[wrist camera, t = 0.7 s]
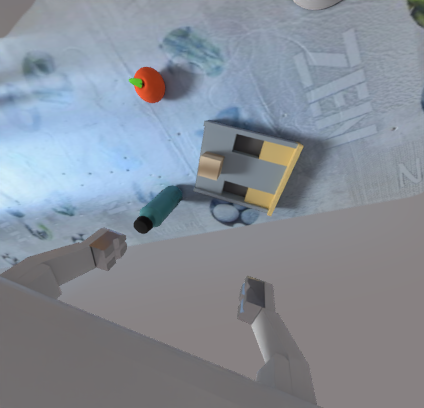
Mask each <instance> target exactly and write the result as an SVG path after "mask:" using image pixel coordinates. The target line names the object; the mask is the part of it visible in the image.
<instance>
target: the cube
mask: <svg viewBox="0 0 424 408" xmlns="http://www.w3.org/2000/svg"><path fill="white" fill-rule="evenodd" d="M224 157H225V156H222V155H218V154H214V153H211V152H207V151H206V152H205V153H204V154H202V155H201V157H200V163H199V169H198V175H199V176H202V177H206V178H209V179H213V180H216V181H217V179H218V177H219V176H220V174H221V170H222V166H223V161H224Z"/></svg>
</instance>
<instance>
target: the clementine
mask: <svg viewBox="0 0 424 408" xmlns="http://www.w3.org/2000/svg"><path fill="white" fill-rule="evenodd" d="M129 82H130V83H132V84H133V85H134V87H135V90H136V92H137V94H138V95H139V96H140V97H141V98H142V99H143V100H144V101H146V102H149V103H155V102H158V101H160V100H161V99H162V98H163V96H164V94H165V83H164V81H163V78H162V76H161V75H160V74H159V73H158V72H157V71H156V70H155V69H153V68H151V67H143V68H140V69H139V70H138V71H137V72H136V74H135V76H134V78H131V79H129Z"/></svg>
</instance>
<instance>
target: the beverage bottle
mask: <svg viewBox="0 0 424 408" xmlns="http://www.w3.org/2000/svg"><path fill="white" fill-rule="evenodd" d="M181 200H182V192H181V190H180V189H179V188H178V187H176V186H168V187H167V188H165V189H163V190H162V191H161V193H160V194H158V195H157V196H156V197H155V198H154V199H153V200H152V201H150V202H149V203H148V204H147V205H146V206H145V207H143V208H142V209H141V210H140V216H139V217H138V218H137V220H136V221H135V222H134V228H135V229H136V230H137V231H138V232H139V233H142V234H145V233H147V232H148V231H149V230H151V229H152V228H153V227H158V226H160V225H161V223H162V222H163V221H164V220H165V219H166V217H167V216H168V215H169V214H170V213H171V212H172V210H173V209H175V208H176V207H177V205H178V203H179V202H180V201H181Z"/></svg>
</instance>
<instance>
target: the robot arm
mask: <svg viewBox="0 0 424 408" xmlns="http://www.w3.org/2000/svg"><path fill="white" fill-rule="evenodd" d="M293 1H294V2H295V3H296V4H297V5H299V6H300V7H302V8H305V9H309V10H320V9H324V8H327V7H330V6H332V5H334V4H336V3H338V2H339V1H341V0H293ZM125 240H126V235H124V234H121V233H118V232H116V231H113V230H110V229H107V228H101V229H99V230H98V231H97V232H95V233H94V234H93V235H91V236H90V237H88V238H87V239H86V240H84V241H83V242H82V243H79V242H78V243H75V244H71V245H68V246H65V247H61V248H58V249H54V250H51V251H47V252H44V253H41V254H37V255H34V256H30V257H28V258H26V259H24V260H23V261H21V262H19V263H18V264H16V265H15V266H13V267H11V268H10V269H8V270H7V271H5V272H3V273H2V274H0V408H322V407H320V406H317V403H316V398H315V393H314V388H313V383H312V378H311V373H310V368H309V364H308V362H307V361H306V359H305V357H304V356H303V354H302V352H301V351H300V349H299V347H298V346H297V344H296V342H295V341H294V339H293V337H292V336H291V334H290V333H289V331H288V329H287V327H286V326H285V324H284V322H283V321H282V319H281V317H280V316H279V314H278V313H276V312H275V301H274V290H273V285H272V284H270V283H267V282H264V281H262V280H259V279H256V278H253V277H249V276H247V277H246V278H245V283H244V284H243V285H242V287H241V291H240V296H239V301H240V305H239V307H238V315H237V319H239V320H241V321H244V322H246V323H249V324H251V326H252V329H253V331H254V334H255V337H256V339H257V342H258V344H259V347H260V350H261V352H262V355H263V358H264V360H265V363H266V364H265V365H264V366H263V367H262V368H261V369H260V370H259V371H258V372H257V375H256V376H257V377H256V380H253V379H251V378H249V377H246V376H243V375H241V374H238V373H236V372H234V371H231V370H229V369H226V368H224V367H221V366H219V365H216V364H214V363H212V362H209V361H207V360H204V359H202V358H200V357H197V356H195V355H192V354H190V353H187V352H185V351H182V350H180V349H177V348H175V347H172V346H170V345H168V344H165V343H163V342H160V341H158V340H155V339H153V338H150V337H148V336H146V335H143V334H141V333H138V332H136V331H133V330H131V329H128V328H126V327H123V326H121V325H118V324H116V323H114V322H111V321H109V320H106V319H104V318H101V317H99V316H96V315H94V314H92V313H89V312H87V311H84V310H82V309H79V308H77V307H74V306H72V305H69V304H67V303H65V302H62V301H60V300H57V298H58V297H59V296H60V295H61V294H62V291H61V289H60V287H59V286H60V285H62V284H64V283H66V282H68V281H70V280H72V279H74V278H76V277H78V276H80V275H82V274H84V273H86V272H88V271H90V270H92V269H94V268H96V267H97V268H100V269H103V270H106V271H109V270H110V268H111V267H112V266H113V265H114V264H115V263H116V259H119V258H121V257H122V256H123V255H124V253H125V252H126V249H127V244H126V242H125Z"/></svg>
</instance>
